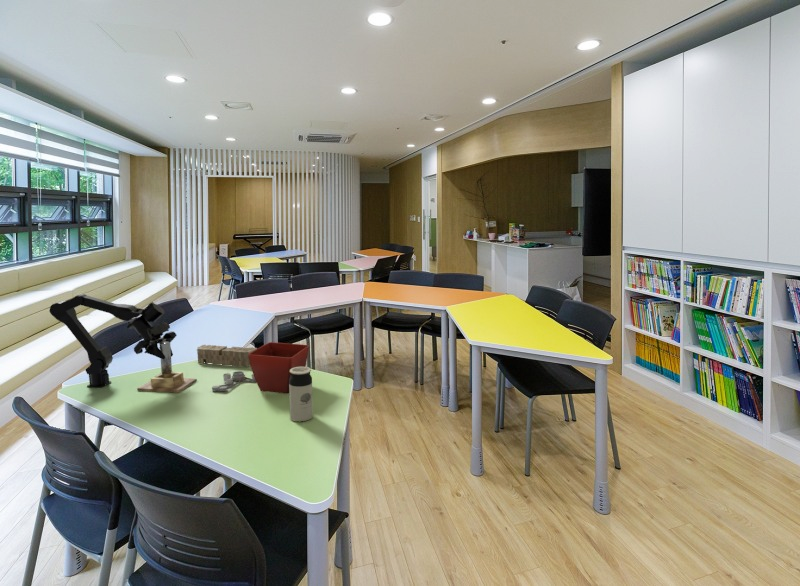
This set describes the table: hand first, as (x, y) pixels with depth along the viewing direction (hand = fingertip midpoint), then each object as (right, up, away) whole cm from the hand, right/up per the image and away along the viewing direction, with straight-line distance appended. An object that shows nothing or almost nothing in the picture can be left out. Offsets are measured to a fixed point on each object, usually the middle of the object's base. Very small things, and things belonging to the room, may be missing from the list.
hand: (168, 357), depth 197 cm
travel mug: (+62, -18, -28) cm, 70 cm away
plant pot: (+47, -13, +2) cm, 49 cm away
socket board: (-1, -12, +2) cm, 13 cm away
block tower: (+12, -8, +34) cm, 37 cm away
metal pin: (-1, -7, +1) cm, 7 cm away
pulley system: (+28, -13, +8) cm, 32 cm away
